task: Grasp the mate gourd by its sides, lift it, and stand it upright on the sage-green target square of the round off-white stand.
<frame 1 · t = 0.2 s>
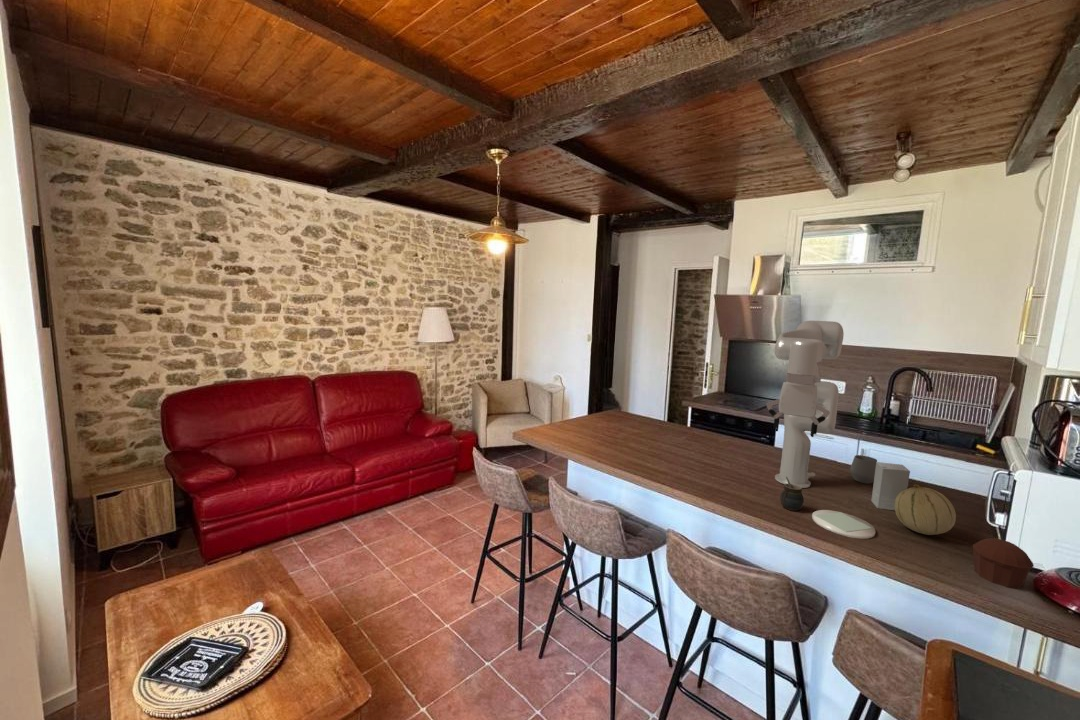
hand: (794, 433, 137), 30 cm above the breakfast bar, tool pointing down, fingers open, 9 cm apart
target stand: (842, 524, 143), on the breakfast bar
mate gourd: (790, 508, 154), on the breakfast bar
skincare box: (886, 507, 158), on the breakfast bar
muffin: (997, 578, 117), on the breakfast bar
cup: (862, 481, 183), on the breakfast bar
cantaloupe: (920, 532, 140), on the breakfast bar
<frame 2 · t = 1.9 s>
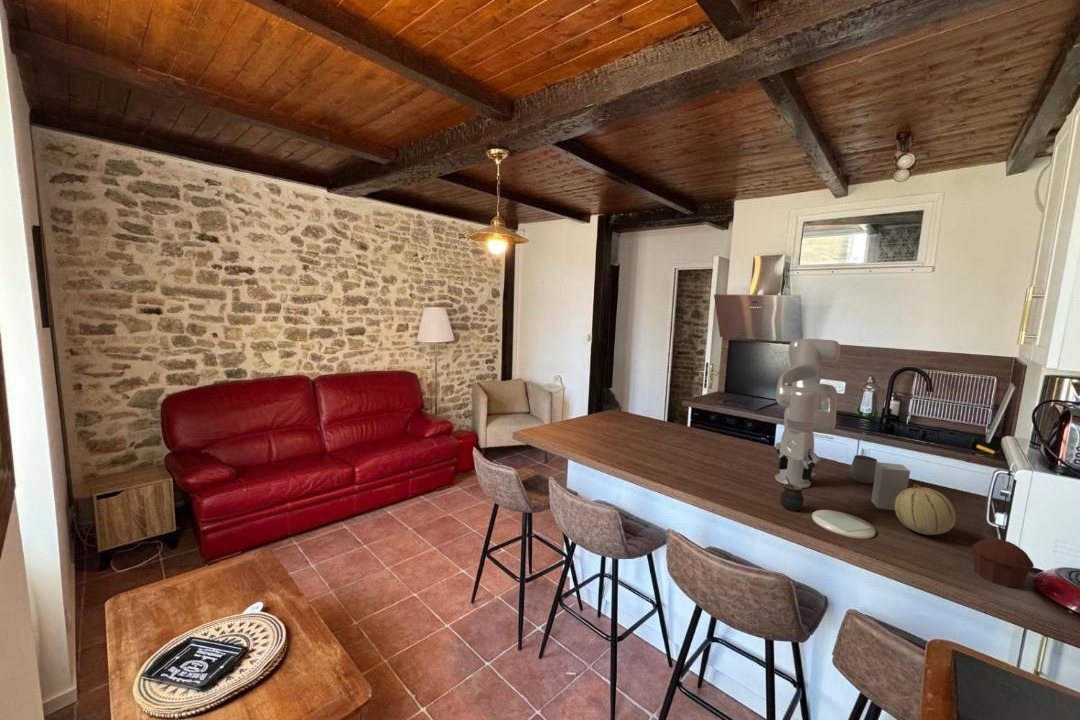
hand: (794, 474, 152), 13 cm above the breakfast bar, tool pointing down, fingers open, 9 cm apart
nothing on the breakfast bar moved.
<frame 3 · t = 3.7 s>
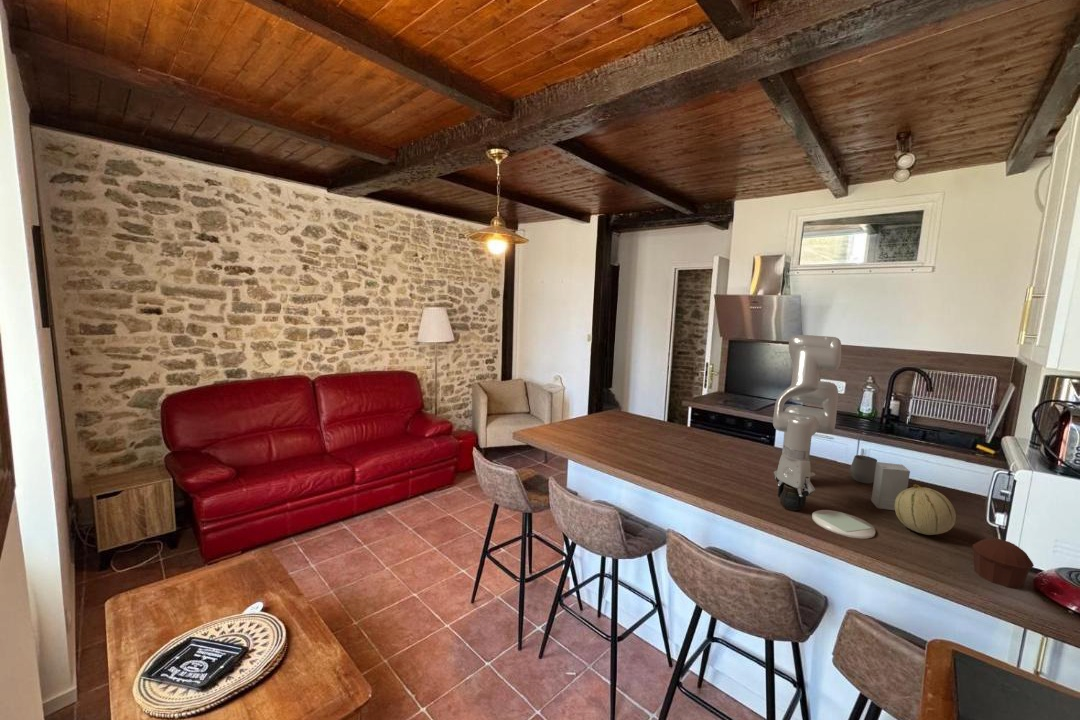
hand: (790, 501, 154), 2 cm above the breakfast bar, tool pointing down, fingers closed on mate gourd, 7 cm apart
mate gourd: (789, 508, 154), on the breakfast bar, touching gripper
everything else where it was.
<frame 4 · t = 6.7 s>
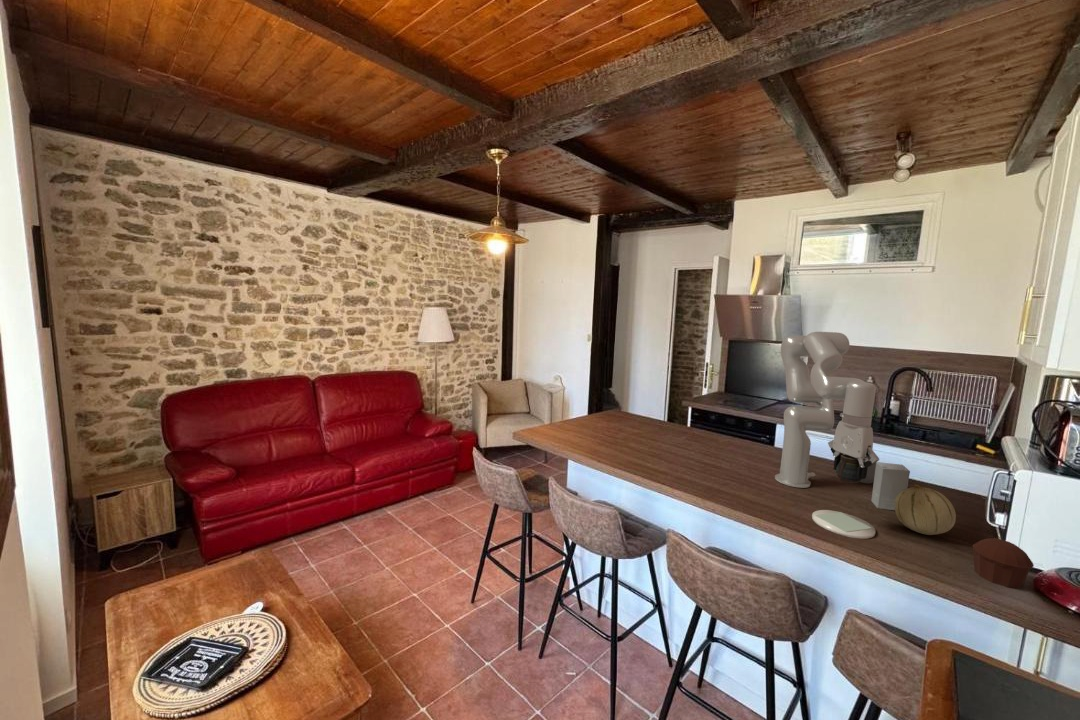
hand: (849, 473, 141), 18 cm above the breakfast bar, tool pointing down, fingers closed on mate gourd, 7 cm apart
mate gourd: (847, 480, 141), point 15 cm above the breakfast bar, touching gripper
everything else where it was.
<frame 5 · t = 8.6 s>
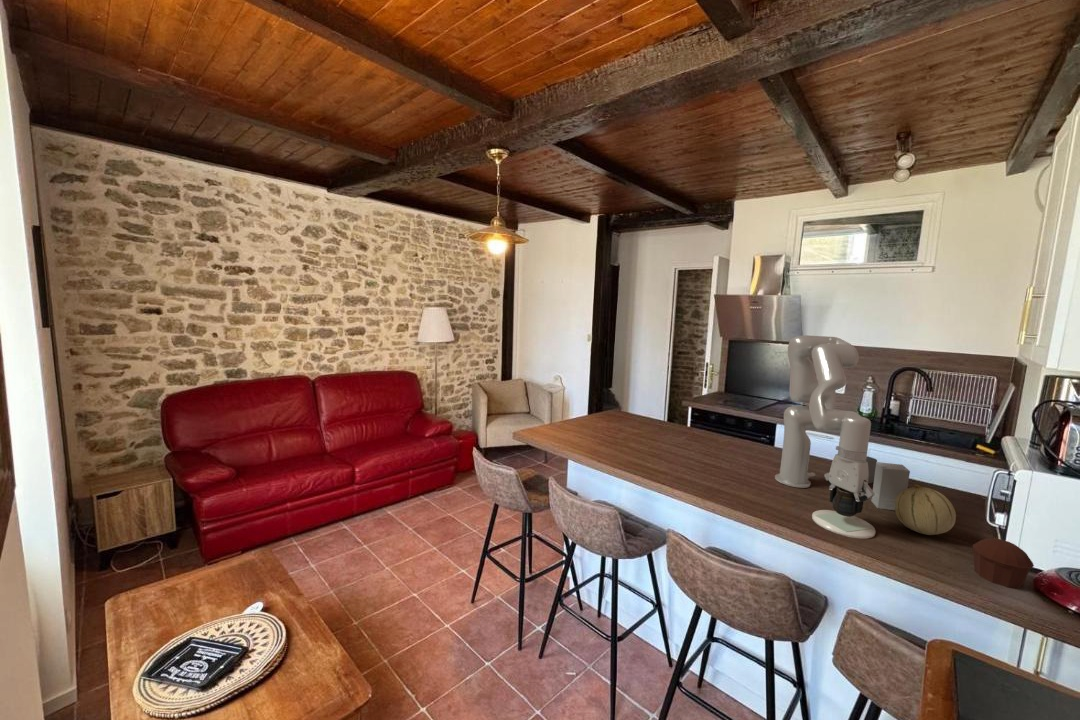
hand: (845, 506, 142), 6 cm above the breakfast bar, tool pointing down, fingers closed on mate gourd, 7 cm apart
mate gourd: (843, 513, 142), point 4 cm above the breakfast bar, touching gripper
everything else where it was.
when the fingers open (4 cm above the breakfast bar, at t = 10.0 s): mate gourd stays where it is, resting on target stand.
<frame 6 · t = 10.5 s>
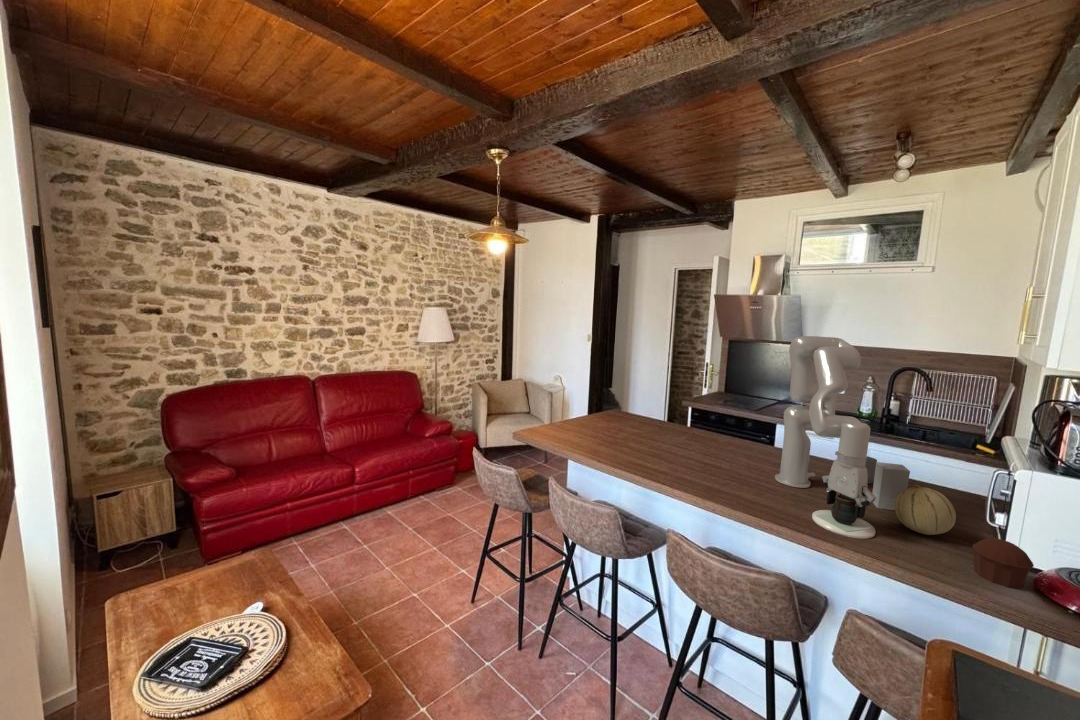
hand: (844, 510, 142), 5 cm above the breakfast bar, tool pointing down, fingers open, 9 cm apart
mate gourd: (842, 521, 143), point 1 cm above the breakfast bar, touching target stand
everything else where it was.
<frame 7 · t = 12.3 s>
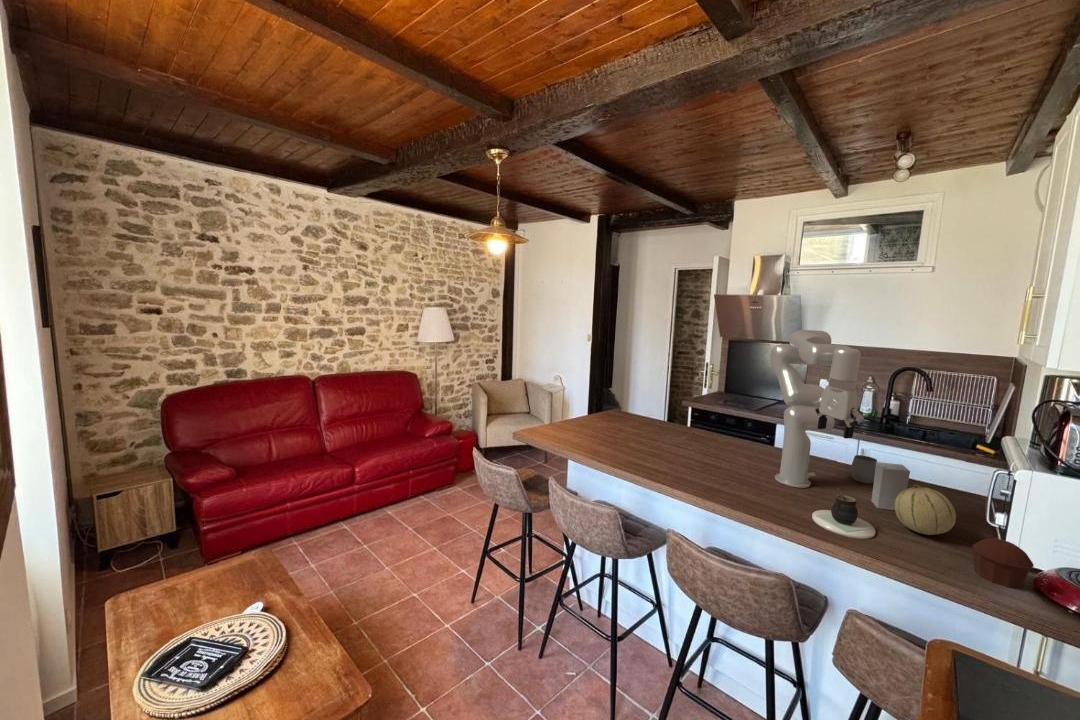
hand: (834, 433, 150), 28 cm above the breakfast bar, tool pointing down, fingers open, 9 cm apart
nothing on the breakfast bar moved.
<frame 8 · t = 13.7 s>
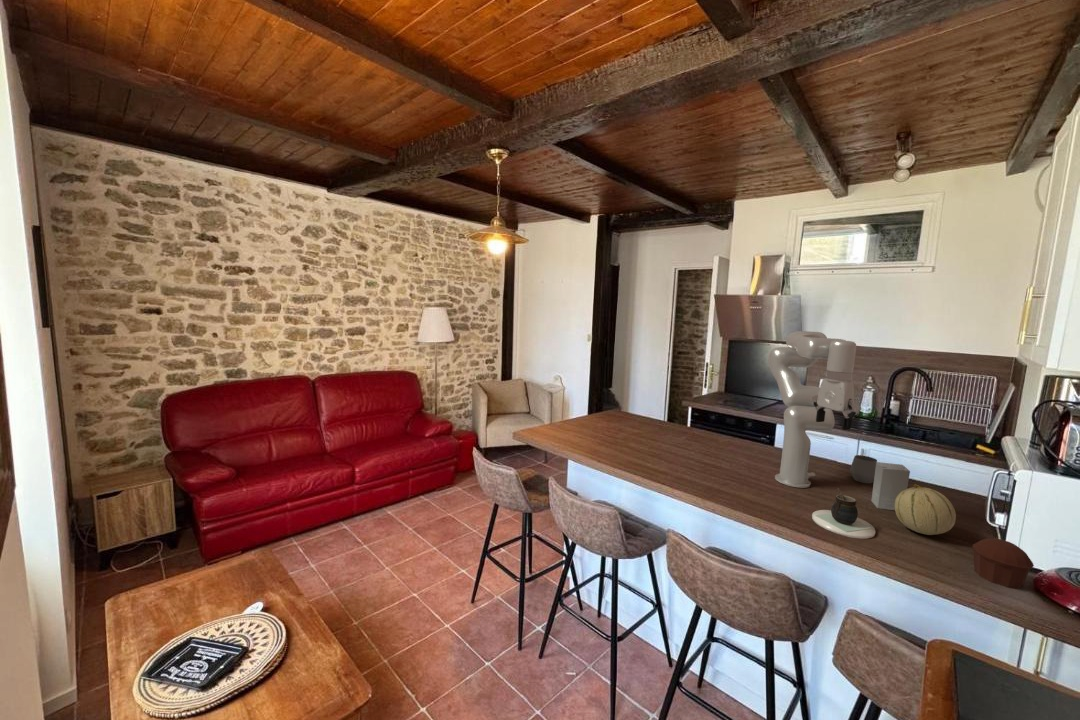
hand: (832, 425, 151), 30 cm above the breakfast bar, tool pointing down, fingers open, 9 cm apart
nothing on the breakfast bar moved.
at the end: mate gourd inside the target area on the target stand (0.3 cm from its centre), point 1.0 cm above the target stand's base; mate gourd tilted 0°; the gripper is holding nothing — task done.
